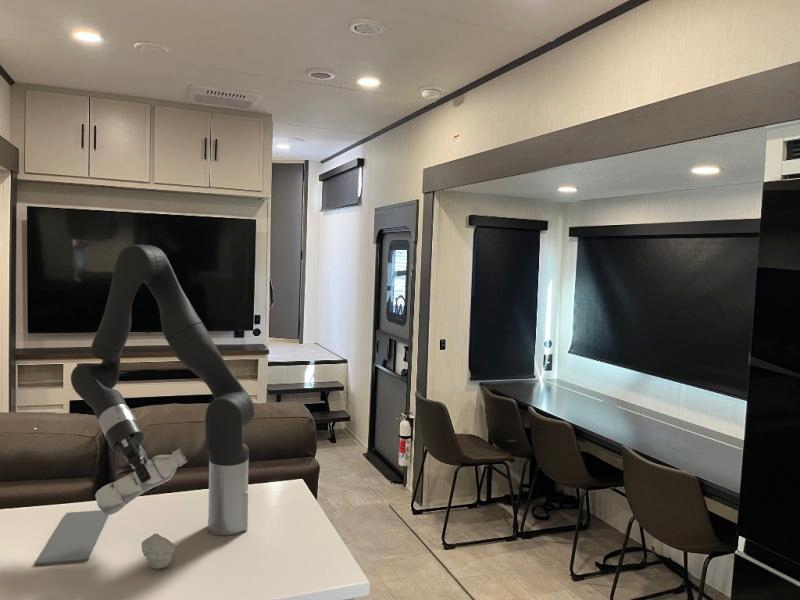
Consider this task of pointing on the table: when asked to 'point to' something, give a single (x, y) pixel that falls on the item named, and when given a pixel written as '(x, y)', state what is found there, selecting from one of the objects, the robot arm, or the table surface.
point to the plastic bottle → (138, 482)
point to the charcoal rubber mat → (73, 538)
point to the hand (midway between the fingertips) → (151, 485)
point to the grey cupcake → (158, 551)
